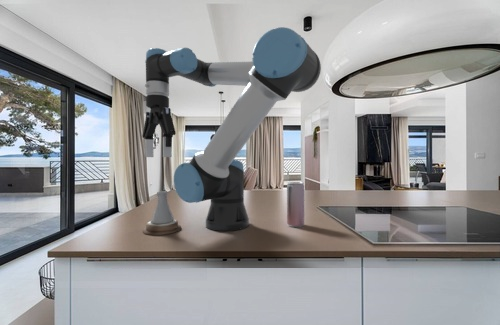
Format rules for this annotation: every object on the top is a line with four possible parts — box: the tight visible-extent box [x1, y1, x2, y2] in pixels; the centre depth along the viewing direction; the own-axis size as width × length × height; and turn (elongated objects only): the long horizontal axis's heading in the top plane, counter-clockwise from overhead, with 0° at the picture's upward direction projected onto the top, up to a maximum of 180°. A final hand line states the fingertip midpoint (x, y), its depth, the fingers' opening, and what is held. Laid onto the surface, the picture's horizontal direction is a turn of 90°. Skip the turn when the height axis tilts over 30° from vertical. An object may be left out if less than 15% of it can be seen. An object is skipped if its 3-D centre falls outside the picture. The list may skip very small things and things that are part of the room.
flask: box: [150, 190, 175, 224], centre depth 84 cm, size 7×7×10 cm
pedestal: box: [142, 218, 182, 236], centre depth 84 cm, size 12×12×3 cm
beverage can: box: [286, 181, 305, 228], centre depth 89 cm, size 6×6×15 cm
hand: (157, 157), depth 89 cm, fingers open, 13 cm apart
